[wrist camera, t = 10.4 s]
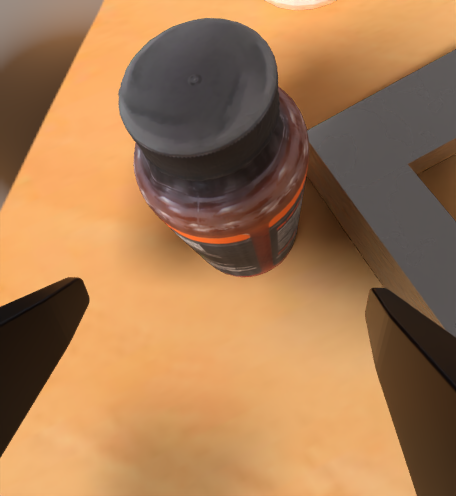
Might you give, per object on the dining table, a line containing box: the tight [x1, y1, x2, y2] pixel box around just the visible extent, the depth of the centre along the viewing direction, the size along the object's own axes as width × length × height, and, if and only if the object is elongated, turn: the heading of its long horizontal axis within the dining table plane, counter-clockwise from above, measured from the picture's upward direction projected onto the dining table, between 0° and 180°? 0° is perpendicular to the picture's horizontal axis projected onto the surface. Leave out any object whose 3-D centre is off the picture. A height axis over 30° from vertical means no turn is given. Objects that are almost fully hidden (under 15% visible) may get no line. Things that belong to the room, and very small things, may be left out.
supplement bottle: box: [119, 18, 309, 277], centre depth 12 cm, size 6×6×11 cm
